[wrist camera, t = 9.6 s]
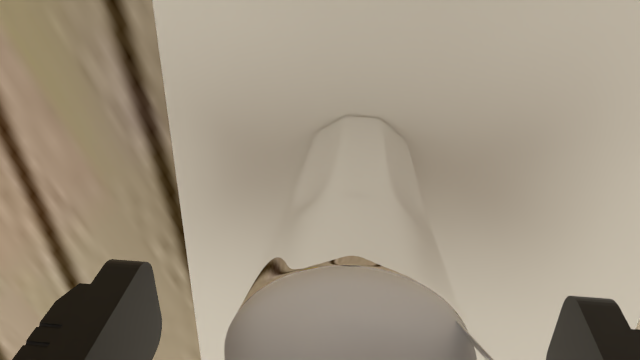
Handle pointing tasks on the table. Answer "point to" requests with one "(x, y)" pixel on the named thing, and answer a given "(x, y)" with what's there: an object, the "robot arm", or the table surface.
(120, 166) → the table surface
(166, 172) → the table surface
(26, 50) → the table surface
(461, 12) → the mat
